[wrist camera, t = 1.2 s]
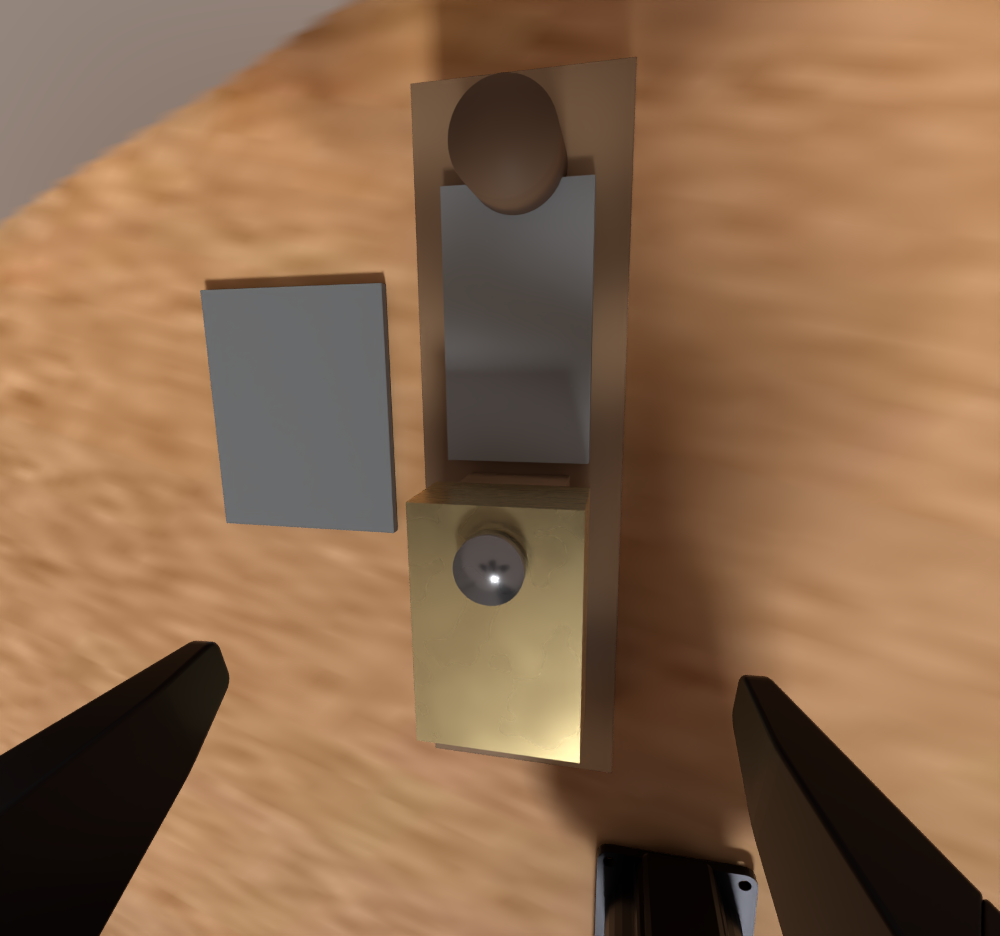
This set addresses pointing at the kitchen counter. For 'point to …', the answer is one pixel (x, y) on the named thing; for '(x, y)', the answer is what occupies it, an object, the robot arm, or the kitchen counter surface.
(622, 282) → the plane body
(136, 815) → the robot arm
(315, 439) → the mat
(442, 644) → the lever cap
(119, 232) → the kitchen counter surface
